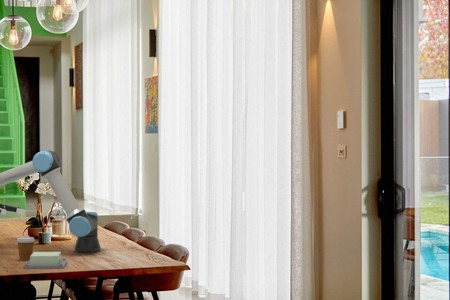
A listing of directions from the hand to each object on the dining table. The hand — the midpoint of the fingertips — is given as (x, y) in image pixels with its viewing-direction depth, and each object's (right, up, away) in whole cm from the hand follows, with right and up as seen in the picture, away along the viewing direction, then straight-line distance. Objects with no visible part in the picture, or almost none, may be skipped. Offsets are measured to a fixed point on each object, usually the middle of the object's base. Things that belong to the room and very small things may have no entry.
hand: (15, 212), depth 425 cm
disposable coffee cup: (+7, -25, -7) cm, 27 cm away
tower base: (+22, -25, -25) cm, 42 cm away
